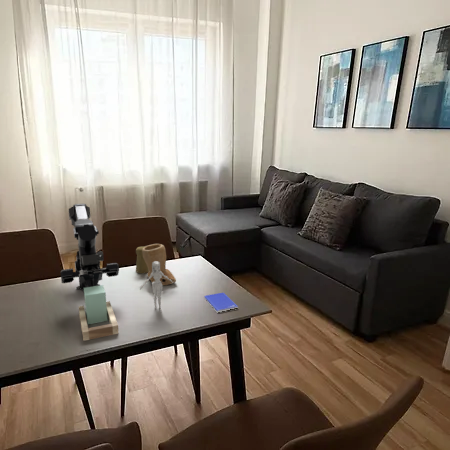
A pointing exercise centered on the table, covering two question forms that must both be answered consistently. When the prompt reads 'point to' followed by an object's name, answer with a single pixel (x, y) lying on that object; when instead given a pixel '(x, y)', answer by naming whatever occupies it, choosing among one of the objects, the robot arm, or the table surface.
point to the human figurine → (156, 283)
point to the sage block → (95, 304)
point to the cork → (141, 262)
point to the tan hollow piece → (158, 254)
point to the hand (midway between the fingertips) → (93, 295)
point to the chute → (99, 330)
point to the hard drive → (220, 302)
